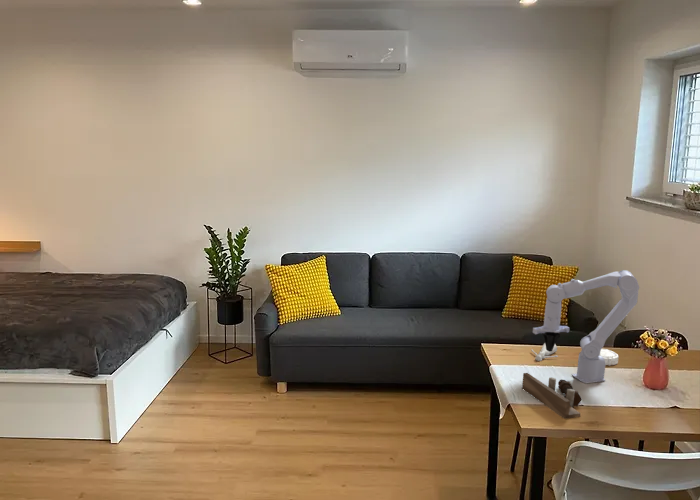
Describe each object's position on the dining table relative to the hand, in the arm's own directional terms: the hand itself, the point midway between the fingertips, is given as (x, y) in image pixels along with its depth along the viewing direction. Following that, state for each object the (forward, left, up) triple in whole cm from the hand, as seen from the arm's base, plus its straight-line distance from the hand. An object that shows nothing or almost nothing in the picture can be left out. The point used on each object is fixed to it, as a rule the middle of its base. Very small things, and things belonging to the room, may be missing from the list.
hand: (549, 350), depth 230 cm
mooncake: (-32, -7, -10) cm, 34 cm away
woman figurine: (-11, -17, -10) cm, 23 cm away
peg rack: (+14, +22, -9) cm, 28 cm away
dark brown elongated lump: (+6, +20, -10) cm, 23 cm away
